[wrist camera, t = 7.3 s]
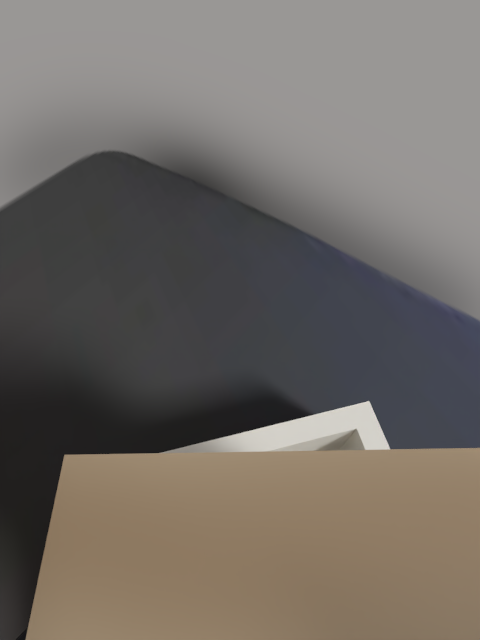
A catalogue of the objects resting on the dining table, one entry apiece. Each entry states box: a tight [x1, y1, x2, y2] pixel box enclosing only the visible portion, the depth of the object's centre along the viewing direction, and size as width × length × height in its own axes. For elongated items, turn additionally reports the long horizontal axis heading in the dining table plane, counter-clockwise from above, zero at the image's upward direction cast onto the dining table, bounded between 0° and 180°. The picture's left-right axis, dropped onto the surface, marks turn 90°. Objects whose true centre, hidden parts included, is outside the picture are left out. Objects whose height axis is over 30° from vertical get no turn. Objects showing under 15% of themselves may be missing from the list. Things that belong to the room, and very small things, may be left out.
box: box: [162, 401, 390, 453], centre depth 13 cm, size 11×11×4 cm
